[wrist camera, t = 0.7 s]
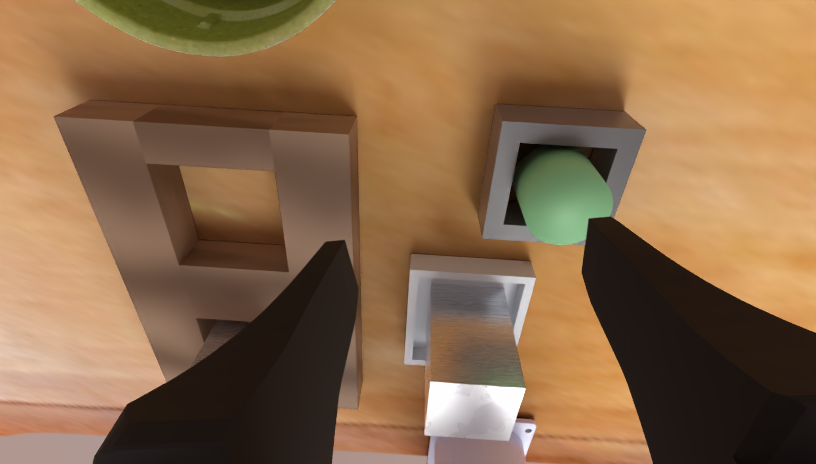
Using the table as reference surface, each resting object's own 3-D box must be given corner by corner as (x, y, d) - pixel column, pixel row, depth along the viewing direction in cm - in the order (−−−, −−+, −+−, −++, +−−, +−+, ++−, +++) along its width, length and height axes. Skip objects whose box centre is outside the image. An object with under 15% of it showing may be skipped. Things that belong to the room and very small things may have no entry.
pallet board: (362, 380, 32) (357, 409, 30) (189, 368, 32) (172, 396, 30) (356, 116, 20) (348, 134, 19) (89, 100, 21) (53, 116, 19)
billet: (492, 338, 28) (508, 441, 22) (425, 333, 28) (424, 435, 22) (504, 287, 26) (525, 388, 20) (430, 282, 26) (430, 381, 20)
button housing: (588, 220, 23) (603, 246, 21) (477, 213, 23) (482, 238, 21) (624, 111, 20) (646, 129, 18) (495, 103, 20) (502, 121, 18)
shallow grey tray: (506, 353, 29) (510, 371, 28) (405, 346, 29) (403, 364, 28) (530, 261, 25) (536, 277, 24) (411, 253, 25) (409, 269, 24)
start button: (579, 212, 21) (598, 247, 19) (507, 208, 21) (517, 242, 19) (600, 145, 19) (625, 174, 17) (521, 140, 19) (534, 168, 17)
